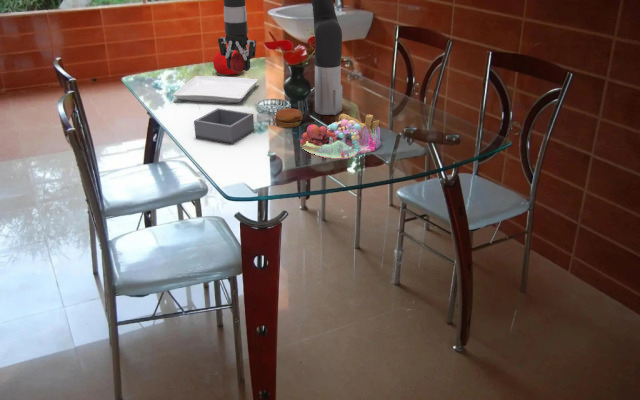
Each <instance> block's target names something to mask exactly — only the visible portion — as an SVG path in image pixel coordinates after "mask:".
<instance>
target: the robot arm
mask: <svg viewBox="0 0 640 400" xmlns="http://www.w3.org/2000/svg"><path fill="white" fill-rule="evenodd" d="M310 1H311V6H312V7H311V8H312V15H313V33H314V111H315V113H316V114H319V115H322V116H323V115H326V116H329V115H333V116H334V115H335V116H336V115H338V114H339V113H340V112H341V111H343V84H341V74H342V73H341V71H342V70H341V68H342V50H343V49H342V48H343V32H342V31H343V30H342V27H341V25H340V23H339V21H338V17H337V13H336V10H335V9H336V8H335V6H334V4H335V3H334V0H310ZM223 21H224V34H225V37H224V36H221V37H219V38H217V41H218V46H219V51H220V53H221V55H222V56H225V57H226V59H227V67H228V69H232V68H231V67H230V59H231V57H232V54H233V52H234V50H237V51H240V53H241V54H242V56H243V58H244V71H243V72H248V71H249V70H250V69H251V60H252V59H254V58H255V57H256V49H257V40H255V39H254V40H251V39H249V37H248V29H249V28H248V16H247V7H246V0H223ZM227 47H228V48H227Z"/></svg>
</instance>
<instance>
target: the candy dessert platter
mask: <svg viewBox="0 0 640 400" xmlns="http://www.w3.org/2000/svg"><path fill="white" fill-rule="evenodd" d="M373 118H374V115H373V114H366V115H365V122H361V121H359V120H358V119H357V118H354V117H352V116H350V115H348V114H346V113H341V114H339V116H338V119H337V121H335V122H332V123H331V124H329V125H327V127H326V126H323V125H322V126H318V125H317V124H314V123H312V124H309V125H308V126H307V128H306V132H304V133H302V136H301V138H302V139H300V141H299V143H300V147H302V148H301V150H302V149H304V150H305V151H307V152H309V153H311V154H315V155H316V156H315V155H314V156H315V157H319V156H320V158H322V157H324V158H323V159H329V158H331V159H332V160H349V159H352V158H351V157H353V158H354V157H357V155H358V154H366V153H371V152H375V151H376V150H377V149H378V148H380V145H381V128H380V126H379V125H380V120H379V119H377V120H373ZM304 150H303V151H304ZM307 152H306V153H307ZM311 154H310V155H311ZM348 158H349V159H348ZM331 159H330V160H331Z"/></svg>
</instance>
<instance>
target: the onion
mask: <svg viewBox="0 0 640 400" xmlns="http://www.w3.org/2000/svg"><path fill="white" fill-rule="evenodd" d="M230 67H231V68H232V70H233V71H235V72H236V73H237V74H238V75H240V74H242V73H243V72H245V71H244V58H243V56H242V54H240V51H237V52H236V53H235V54H234V55H233V56H232V57H231V59H230Z"/></svg>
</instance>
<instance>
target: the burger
mask: <svg viewBox="0 0 640 400" xmlns="http://www.w3.org/2000/svg"><path fill="white" fill-rule="evenodd" d="M274 122H275V124H276V125H277V126H278V127H281V128H290V129H292V128H296V127H298V126H300V125H301V123H302V122H303V111H301V110H300V109H297V108H289V107H286V108H285V107H284V108H281V109H279V110H278V111H277V112H276V113H275V118H274Z"/></svg>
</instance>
